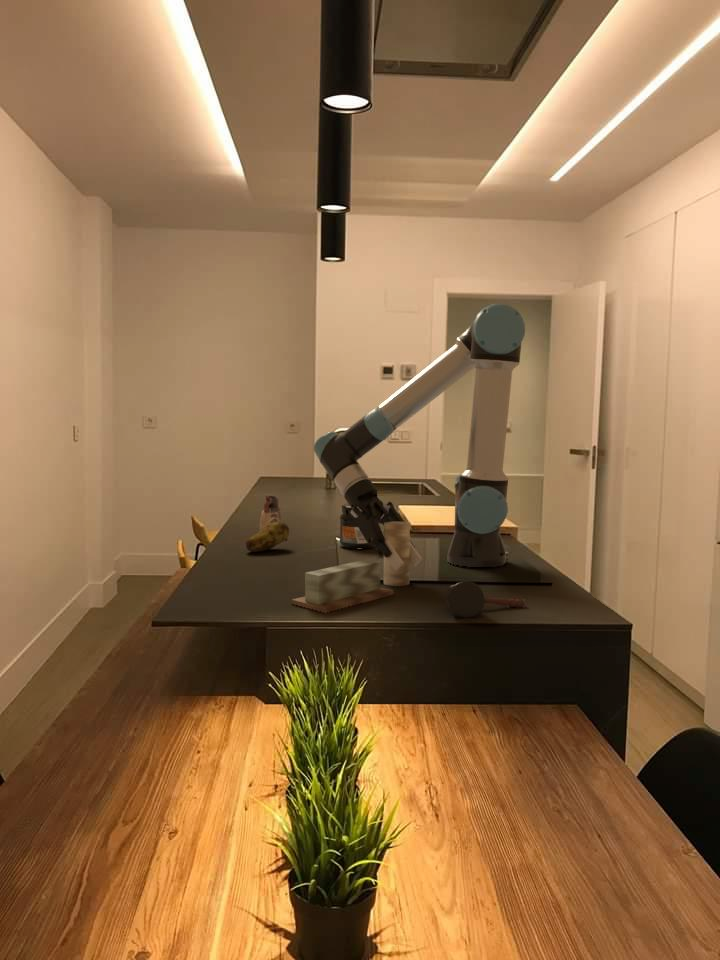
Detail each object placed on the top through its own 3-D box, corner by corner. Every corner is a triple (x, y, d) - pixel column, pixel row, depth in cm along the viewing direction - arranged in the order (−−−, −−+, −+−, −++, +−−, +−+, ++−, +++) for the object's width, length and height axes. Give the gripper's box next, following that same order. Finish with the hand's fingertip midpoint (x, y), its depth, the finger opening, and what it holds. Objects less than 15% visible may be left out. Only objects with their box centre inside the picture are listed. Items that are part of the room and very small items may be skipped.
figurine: (287, 531, 264) (286, 494, 262) (272, 535, 258) (272, 496, 256) (269, 529, 267) (269, 492, 266) (254, 532, 261) (254, 494, 260)
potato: (240, 549, 234) (240, 521, 233) (285, 546, 239) (284, 518, 238) (248, 555, 227) (248, 525, 226) (294, 551, 232) (293, 523, 231)
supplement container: (364, 551, 233) (364, 508, 231) (332, 547, 238) (332, 505, 237) (382, 545, 242) (382, 504, 240) (351, 542, 247) (351, 501, 246)
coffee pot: (446, 617, 164) (437, 612, 173) (534, 627, 166) (521, 622, 175) (450, 579, 165) (441, 576, 173) (538, 589, 167) (525, 585, 175)
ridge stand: (359, 587, 191) (359, 556, 190) (393, 594, 184) (393, 563, 183) (291, 604, 175) (291, 571, 174) (325, 613, 168) (325, 578, 168)
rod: (404, 579, 198) (404, 521, 197) (413, 585, 193) (413, 524, 191) (380, 581, 197) (380, 522, 195) (388, 586, 191) (389, 526, 189)
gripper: (374, 494, 210) (425, 568, 201) (320, 501, 196) (372, 581, 187) (390, 474, 206) (443, 549, 197) (337, 480, 192) (391, 561, 183)
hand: (408, 564), depth 192 cm, fingers closed on rod, 6 cm apart
